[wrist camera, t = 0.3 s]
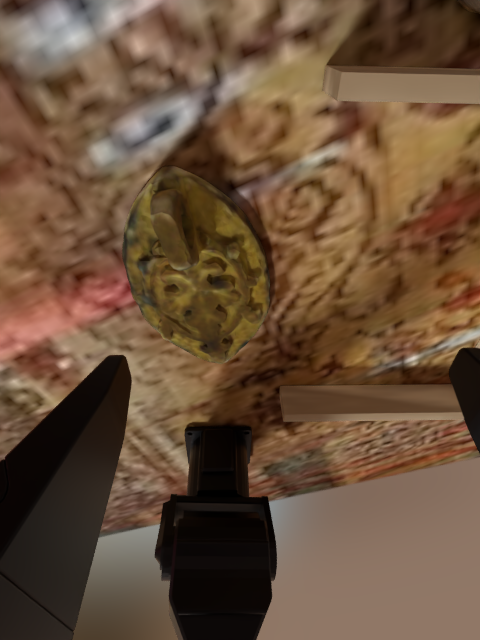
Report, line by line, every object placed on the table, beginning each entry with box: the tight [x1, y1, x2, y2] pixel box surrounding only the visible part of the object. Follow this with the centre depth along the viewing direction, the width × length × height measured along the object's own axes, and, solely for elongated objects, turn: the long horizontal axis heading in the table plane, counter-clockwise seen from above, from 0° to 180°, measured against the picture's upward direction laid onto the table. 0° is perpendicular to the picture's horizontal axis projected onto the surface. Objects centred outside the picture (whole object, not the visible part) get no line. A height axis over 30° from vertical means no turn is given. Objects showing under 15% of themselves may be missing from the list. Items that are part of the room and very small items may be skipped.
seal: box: [122, 166, 270, 364], centre depth 23 cm, size 9×5×15 cm
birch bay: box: [279, 65, 480, 422], centre depth 24 cm, size 24×16×3 cm
